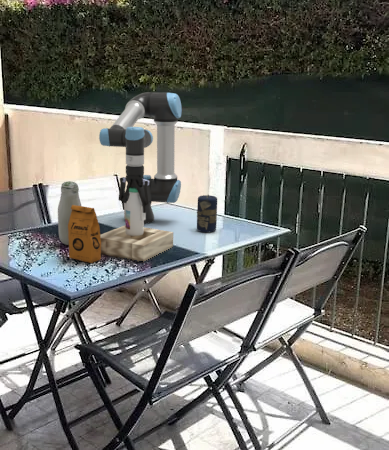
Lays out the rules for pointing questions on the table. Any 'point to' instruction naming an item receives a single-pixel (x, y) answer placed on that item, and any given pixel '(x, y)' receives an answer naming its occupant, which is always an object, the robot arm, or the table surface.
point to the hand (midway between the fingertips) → (134, 218)
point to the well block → (136, 243)
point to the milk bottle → (133, 214)
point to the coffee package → (84, 234)
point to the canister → (207, 213)
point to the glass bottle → (67, 208)
